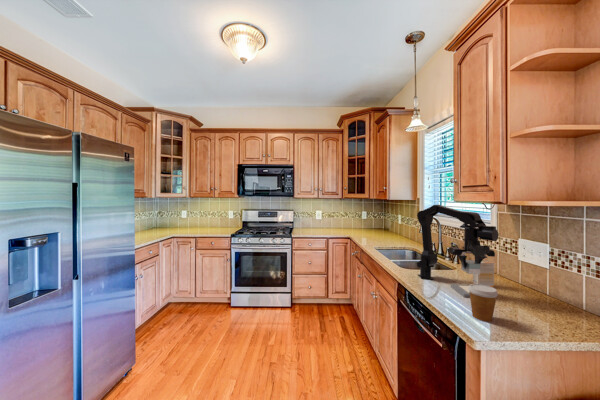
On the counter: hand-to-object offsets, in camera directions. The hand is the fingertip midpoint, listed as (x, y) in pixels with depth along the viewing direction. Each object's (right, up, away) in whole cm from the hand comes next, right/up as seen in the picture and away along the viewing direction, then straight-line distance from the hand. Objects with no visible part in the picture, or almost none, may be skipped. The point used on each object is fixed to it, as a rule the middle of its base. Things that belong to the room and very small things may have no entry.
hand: (470, 268), depth 119 cm
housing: (0, -2, 0) cm, 2 cm away
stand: (+1, -12, 0) cm, 12 cm away
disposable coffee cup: (-13, -13, -24) cm, 30 cm away
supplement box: (+14, -12, +10) cm, 21 cm away
